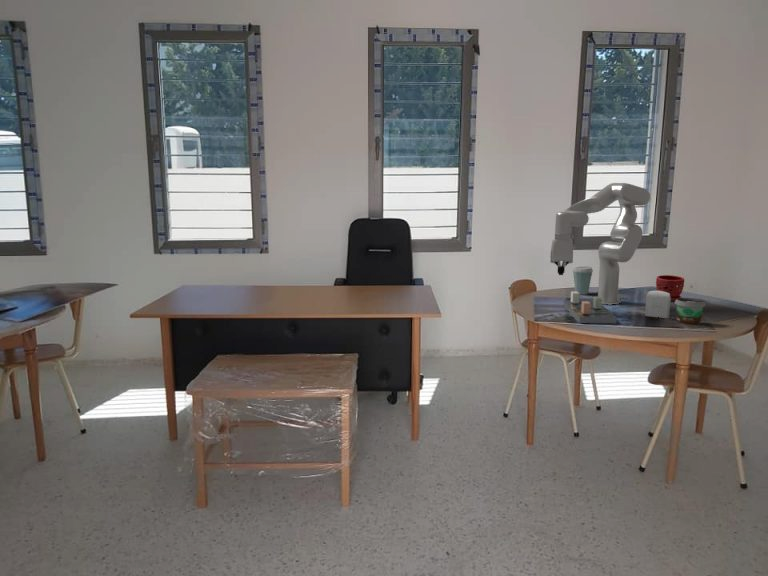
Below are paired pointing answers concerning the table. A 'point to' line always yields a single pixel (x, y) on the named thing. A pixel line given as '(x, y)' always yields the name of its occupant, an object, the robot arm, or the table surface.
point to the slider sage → (597, 302)
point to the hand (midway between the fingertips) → (560, 274)
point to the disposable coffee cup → (582, 279)
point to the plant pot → (670, 285)
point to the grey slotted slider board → (595, 314)
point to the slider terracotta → (585, 307)
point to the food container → (689, 311)
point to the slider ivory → (574, 297)
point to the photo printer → (658, 304)
